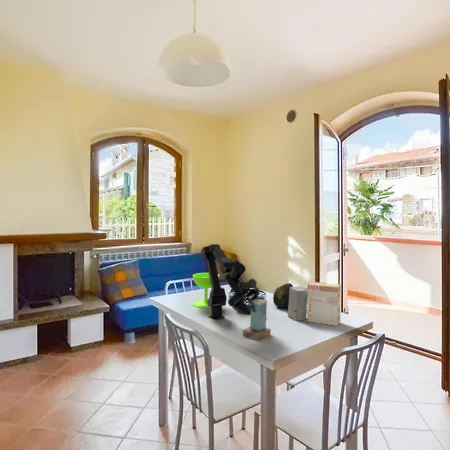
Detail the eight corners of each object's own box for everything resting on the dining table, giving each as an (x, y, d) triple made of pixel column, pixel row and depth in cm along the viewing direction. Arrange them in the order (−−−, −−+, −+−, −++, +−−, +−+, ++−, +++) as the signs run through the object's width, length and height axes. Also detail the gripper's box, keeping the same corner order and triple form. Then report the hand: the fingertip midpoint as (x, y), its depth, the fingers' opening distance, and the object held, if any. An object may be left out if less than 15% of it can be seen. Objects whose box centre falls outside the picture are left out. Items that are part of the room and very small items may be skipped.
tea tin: (249, 329, 149) (251, 300, 148) (256, 326, 153) (257, 298, 152) (259, 332, 145) (260, 303, 145) (265, 329, 149) (267, 300, 149)
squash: (264, 296, 199) (277, 280, 191) (282, 293, 208) (294, 278, 200) (276, 316, 191) (290, 300, 183) (294, 312, 200) (308, 297, 192)
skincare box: (287, 316, 177) (287, 287, 176) (298, 315, 179) (299, 286, 179) (296, 321, 169) (296, 290, 168) (308, 319, 171) (308, 289, 171)
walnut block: (242, 336, 148) (242, 330, 148) (253, 331, 155) (254, 324, 155) (259, 341, 143) (259, 334, 143) (270, 335, 150) (270, 329, 150)
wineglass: (214, 309, 190) (214, 278, 189) (188, 307, 194) (188, 276, 193) (222, 302, 205) (222, 273, 205) (198, 300, 209) (198, 272, 209)
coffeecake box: (340, 322, 167) (341, 284, 166) (337, 326, 161) (337, 286, 160) (311, 317, 175) (311, 281, 174) (307, 321, 169) (307, 283, 168)
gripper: (233, 276, 145) (254, 306, 139) (256, 270, 160) (276, 297, 153) (219, 291, 150) (238, 320, 144) (243, 284, 165) (261, 310, 158)
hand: (254, 311), depth 150 cm, fingers open, 9 cm apart
